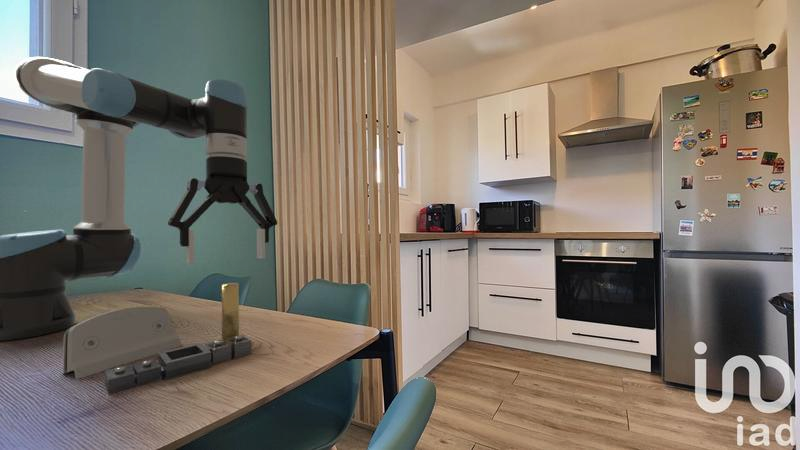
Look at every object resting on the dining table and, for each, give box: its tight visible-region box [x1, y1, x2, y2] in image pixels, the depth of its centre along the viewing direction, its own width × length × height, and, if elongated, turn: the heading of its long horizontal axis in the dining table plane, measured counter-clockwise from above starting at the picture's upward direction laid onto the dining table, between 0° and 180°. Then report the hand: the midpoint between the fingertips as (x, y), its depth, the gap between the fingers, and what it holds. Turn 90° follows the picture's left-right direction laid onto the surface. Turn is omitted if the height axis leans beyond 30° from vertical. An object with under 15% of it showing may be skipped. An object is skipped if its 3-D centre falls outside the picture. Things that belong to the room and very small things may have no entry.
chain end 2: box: [157, 334, 252, 372], centre depth 59 cm, size 6×14×3 cm, turn 135°
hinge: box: [62, 306, 182, 380], centre depth 61 cm, size 17×5×10 cm, turn 153°
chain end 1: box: [104, 353, 212, 395], centre depth 54 cm, size 6×13×3 cm, turn 136°
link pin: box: [221, 282, 240, 340], centre depth 69 cm, size 3×3×12 cm
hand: (228, 260), depth 69 cm, fingers open, 13 cm apart
